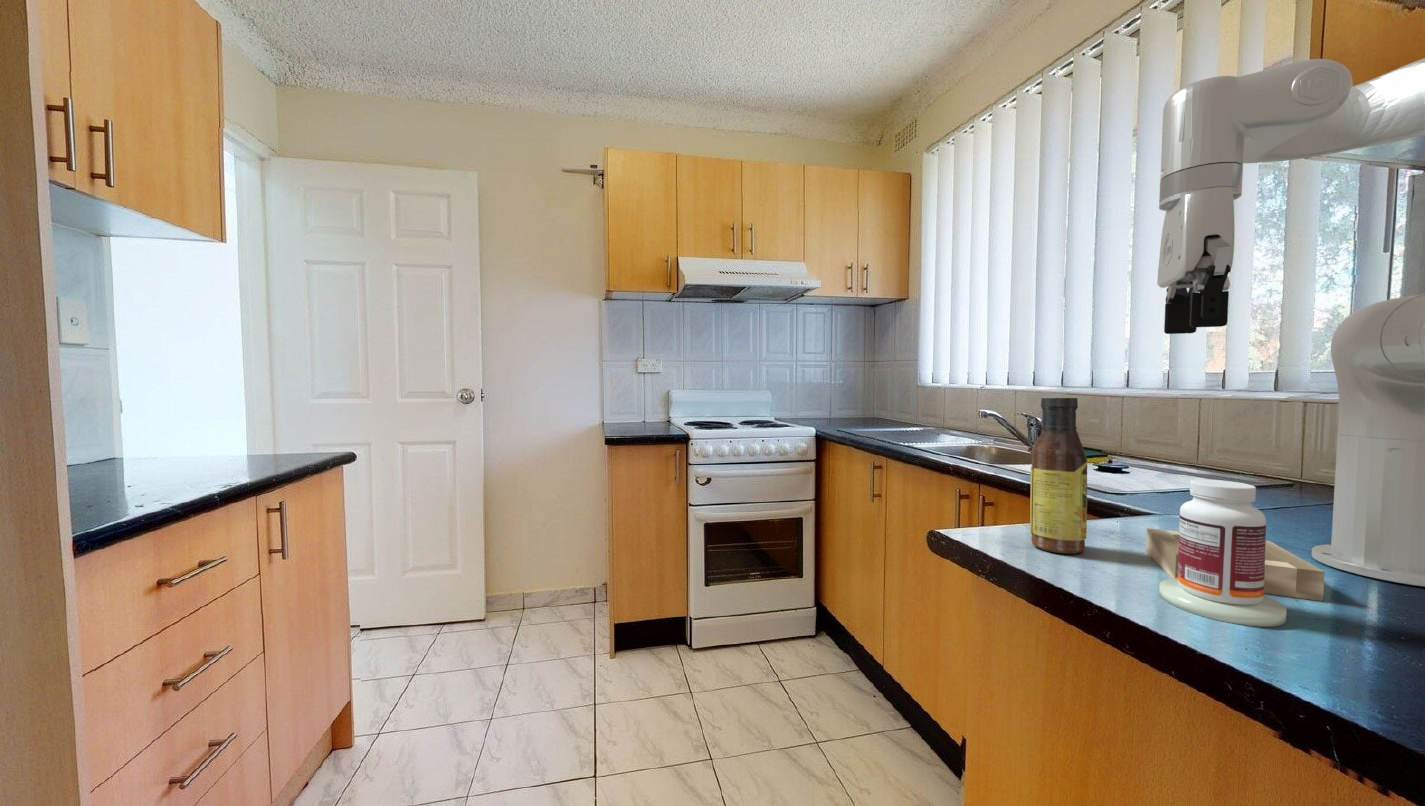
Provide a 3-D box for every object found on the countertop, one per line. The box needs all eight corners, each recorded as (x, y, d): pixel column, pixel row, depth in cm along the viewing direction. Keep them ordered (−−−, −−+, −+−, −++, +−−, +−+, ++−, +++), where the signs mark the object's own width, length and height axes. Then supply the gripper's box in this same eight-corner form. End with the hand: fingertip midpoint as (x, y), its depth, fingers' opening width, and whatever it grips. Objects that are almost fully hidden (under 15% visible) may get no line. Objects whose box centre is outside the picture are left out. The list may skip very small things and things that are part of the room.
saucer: (1259, 597, 55) (1260, 587, 54) (1307, 634, 46) (1308, 623, 46) (1148, 582, 59) (1148, 573, 59) (1175, 614, 51) (1175, 603, 50)
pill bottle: (1251, 590, 54) (1256, 481, 53) (1274, 613, 48) (1280, 492, 48) (1170, 578, 57) (1174, 475, 57) (1184, 598, 52) (1189, 485, 51)
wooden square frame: (1267, 565, 64) (1268, 540, 64) (1323, 601, 54) (1324, 571, 54) (1145, 551, 69) (1146, 528, 69) (1174, 581, 59) (1176, 554, 59)
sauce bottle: (1095, 557, 67) (1101, 398, 66) (1040, 554, 68) (1045, 397, 67) (1071, 542, 73) (1076, 396, 72) (1021, 539, 74) (1025, 395, 73)
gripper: (1142, 214, 75) (1137, 336, 76) (1183, 170, 60) (1177, 325, 60) (1212, 206, 72) (1206, 334, 73) (1275, 158, 56) (1267, 322, 57)
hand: (1193, 330), depth 66 cm, fingers open, 9 cm apart
